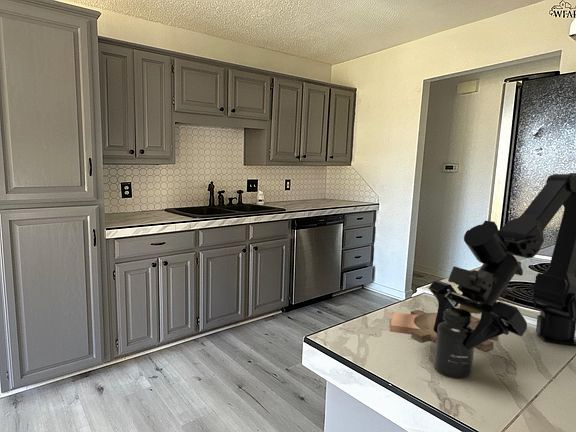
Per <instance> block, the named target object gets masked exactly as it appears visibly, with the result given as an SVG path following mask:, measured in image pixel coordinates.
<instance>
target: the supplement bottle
mask: <svg viewBox="0 0 576 432" xmlns="http://www.w3.org/2000/svg"><path fill="white" fill-rule="evenodd" d="M471 316H472V313H470V312H468V311H466V310H463V309H460V307H454V308H446V309H445V310H444V316H443V319H444V321H442V322H440V323H439V324H438V327H437V337H436V342H435V349H434V351H435V352H434V367H435V368H436V370H437V371H438V372H439V373H441V374H443V375H445V376H447V377H450V378H454V379H467V378H468V377H470V376H471V374H472V370H473V363H474V354H475V353H474V352H475V347H473V348H471V349H467V348H466V347H465V344H466V342H467V340H468V338H469V337H470V335H471V334H472V332H473V331H474V329H473V328H472V327H471V326H470V324H471Z"/></svg>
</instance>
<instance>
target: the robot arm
mask: <svg viewBox="0 0 576 432" xmlns="http://www.w3.org/2000/svg"><path fill="white" fill-rule="evenodd" d="M562 206H563V207H564V209H563V214H562V216H561V222H560V225H559V227H558V231H557V235H556V241H555V243H554V248H553V251H552V254H551V259H550V264H549V266H548V268H547V269H546V270H545V271H544V272H542V273H541V272H540V273H537V274H536V276H535V281H534V284H533V285H532V289H531V290H532V291H531V297H532V303H533V304H532V305H533V309H536V310H540V312H539V314H537V316H536V328H535V332H536V333H537V335H539V337H540V338H542V341H544V342H546V343H555V344H563V345H568V346H569V345H572V346H576V340H575V336H576V276H575V275H576V172H570V173H554V174H549V176H548V177H547V178H546V182H545V184H544V186H543V187H542V189H540V191H539V193H537V195H536V196H535V198H534V199H533V200H532V201H531V203H530V204H529V205H528V206H527V208H526V209H525V210H524V211H523V212H522V214H521V215H520V216H518V217H516V218H513V219H512V220H508V221H507V222H506V223H505V224H504V225H503V226H502V227H501V228H500V229H499V228H498V225H497V223H496V222H495V221H491V220H485V221H483V223H482V224H477V225H475V226H473V227H471V228H470V229H468V230H466V232H465V233H464V236H463V240H464V243H465V245H466V247H468V249H469V250H470V252H471V253H472V254H473V256H474V257H475V259H476V260H477V262H479V263H481V267H480V268H479V269H478V270H475V269H473V270H468V269H465V268H462V267H458V266H452V269H451V271H450V274H449V277H448V280H447V281H448V282H449V283H448V282H445V281H441V280H439V279H438V280H434V281H432V282H431V283H430V286H429V287H428V290H429V291H430V292H431V294H433V296H434V297H435V298H436V299H437V301H438V306H437V307H438V308H437V312H436V313H437V316H436V321H435V325H434V329H433V330H434V332H435V333H437V327H438V324H439V323H440V322H442V321H444V319H443V316H444V310H445V309H446V308H457V307H458V305H460V304H461V305H463V306H466V307H469V308H471V309H474V310H476V311H479V312H481V313H480V318H479V319H480V322H479V323H478V325H477V326H476V328H475V329H474V331H473V332H472V334H471V335H470V337H469V338H468V340H467V342H466V344H465V347H466V348H467V349H471V348H473V347H474V348H476V347H475V346H477V345H478V344H480V343H482V342H484V341H487V340H492V339H491V338H494V337H496V336H498V337H499V336H501V335H506V336H508V335H509V334H510V333H512V334H514V335H516V336H519V337H523V336H524V333H525V332H526V331H527V329H528V323H527V320H526V319H525V318H524V316H523V315H522V313H521V311H520V310H519V309H518V307H516V306H514V305H511V304H507V303H505V302H502V301H498V299H499V298H505V297H506V296H507V294H508V293H507V291H506V288H507V287H508V285H509V284H510V282H511V281H512V279H513V277H514V276H515V275H517V276H523V275H524V274H523V273H524V271H523V268H522V262H521V261H518V260H517V257H519V258H520V257H521V258H524V259H532V258H534V257H535V256H536V255H537V254H538V253H540V250H541V248H542V245H543V244H544V242H545V237H544V231H545V230H546V227H547V226H548V225H549V223H550V222H551V221H552V220H553V218H554V217H555V215H556V214H557V213H558V211H559V210H560V209H561V207H562ZM450 283H453V284H456V285H458V286H457V289H458V291H459V292H461V293H462V294H461V293H458V291H456V290H455V289H454V286H452V285H451V284H450Z"/></svg>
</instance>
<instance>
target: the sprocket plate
mask: <svg viewBox="0 0 576 432" xmlns="http://www.w3.org/2000/svg"><path fill="white" fill-rule="evenodd" d="M390 316H391V317H390V325H389V326H390V328H389V332H395V333H403V334H411V339H413V340H416V341H417V342H420V343H424V342H425V343H426V342H427V341H432V342H435V343H436V337H437V333H435V332H434V330H433V329H434V325H435V321H436V316H437V312H425V311H423V310H421V309H416V310H411V311H410V313H406V312H396V311H392V312H391V315H390ZM480 319H481V318H478V317H476V316H473V315H471V324H470V326H471V327H472V328H473V329H475V328H476V326H477V325H478V323H479V322H480ZM492 340H496V341H498V340H499V336H496V337H494V338H491V339H489V340H487V341H484V342H482V343H480V344H478V345H477V346H475V347H474V348H476V349H478V350H481V351H483V352H487V351H490V350H492V349H494V341H492Z"/></svg>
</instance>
